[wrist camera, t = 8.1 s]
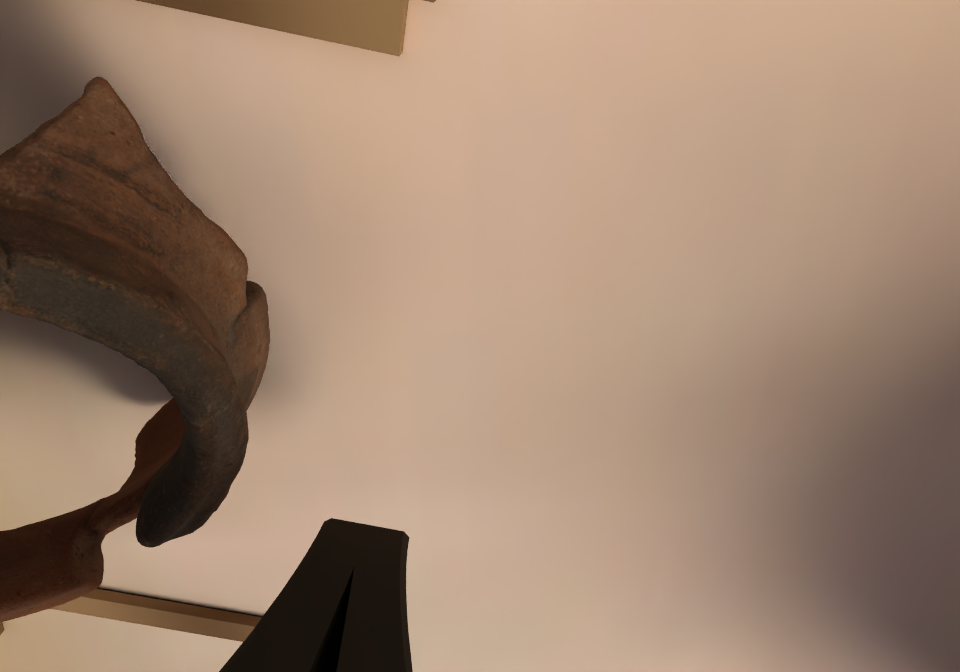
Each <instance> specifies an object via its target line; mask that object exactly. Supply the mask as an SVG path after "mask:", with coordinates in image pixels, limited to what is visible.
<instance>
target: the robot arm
mask: <svg viewBox="0 0 960 672" xmlns="http://www.w3.org/2000/svg"><path fill="white" fill-rule="evenodd" d="M408 542H409V537H408V536H407V534H406V533H405V532H404V531H398V530H393V529H387V528H382V527H376V526H371V525H366V524H360V523H355V522H349V521H344V520H338V519H333V518H331V519H329V520H327V521H325V522H324V523H323V525H322V527H321V529H320V531H319V533H318V535H317V537H316V538H315V540H314V542H313V543H312V545H311V547H310V549H309V550H308V552H307V554H306V555H305V557H304V558H303V560H302V561H301V563H300V565H299V566H298V568H297V569H296V571H295V572H294V574H293V575H292V577H291V578H290V580H289V581H288V582H287V584H286V585H285V587H284V588H283V590H282V591H281V593H280V594H279V595H278V597H277V598H276V599H275V601H274V602H273V603H272V605H271V606H270V608H269V609H268V610H267V612H266V613H265V614H264V616H263V617H262V618H261V620H260V621H259V622H258V624H257V625H256V626H255V628H254V629H253V631H252V632H251V633H250V634H249V636H248V637H247V638H246V640H245V641H244V642H243V643H242V645H241V646H240V647H239V648H238V649H237V651H236V652H235V653H234V654H233V655H232V657H231V658H230V659H229V660H228V662H227V663H226V664H225V665H224V666H223V668H222V669H221V670H220V671H219V672H412V662H411V653H410V643H409V634H408V622H407V603H406V561H407V549H408Z"/></svg>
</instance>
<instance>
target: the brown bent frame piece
mask: <svg viewBox="0 0 960 672" xmlns="http://www.w3.org/2000/svg"><path fill="white" fill-rule="evenodd" d="M247 273H248V265H247V259H246V257H245V255H244V253H243V252H242V250H241V249H240V248H239V247H238V246H237V245H236V243H235V242H234V241H233V240H232V239H231V238H230V236H229V235H228V234H227V233H226V232H225V231H224V230H223V229H222V228H221V227H219V226H218V225H217V224H215V223H214V222H213V221H211V220H210V219H209V218H207V217H206V216H205V215H204V214H203V212H202V211H201V210H200V209H199V208H198V207H196V206H195V205H194V204H193V203H192V202H191V201H190V200H189V199H188V198H187V197H186V196H185V195H184V194H183V193H182V192H181V190H180V189H179V188H178V187H177V185H176V184H175V183H174V182H173V181H172V179H171V178H170V177H169V175H168V174H167V173H166V171H165V170H164V169H163V168H162V166H161V165H160V163H159V161H158V160H157V158H156V157H155V156H154V154H153V153H152V152H151V151H150V149H149V148H148V146H147V145H146V143H145V141H144V138H143V136H142V133H141V130H140V127H139V126H138V124H137V122H136V121H135V119H134V118H133V116H132V114H131V113H130V111H129V110H128V108H127V107H126V106H125V104H124V103H123V101H122V100H121V99H120V98H119V96H118V95H117V94H116V92H115V91H114V89H113V88H112V87H111V85H110V84H109V83H108V81H107V80H105V79H104V78H101V77H96V78H93V79H92V80H91V81H89V82H88V83H87V85H86V87H85V89H84V93H83V95H82V97H81V98H79V99H78V100H77V101H75V102H74V103H72V104H71V105H70V106H69V107H68V108H67V109H65V110H64V111H63V112H62V113H61V114H59V115H58V116H56V117H55V118H53V119H51V120H49V121H47V122H45V123H44V124H42V125H41V126H40V127H39V128H38V129H37V130H36V131H35V132H34V133H32V134H31V135H30V136H28V137H27V138H25V139H24V140H23V141H22V142H21V143H19V144H17V145H16V146H14V147H12V148H11V149H9V150H7V151H6V152H4V153H3V154H2V155H0V309H2V310H6V311H9V312H11V313H14V314H17V315H20V316H23V317H29V318H34V319H38V320H42V321H45V322H48V323H51V324H54V325H56V326H58V327H60V328H62V329H65V330H69V331H72V332H75V333H77V334H79V335H82V336H84V337H86V338H88V339H91V340H94V341H97V342H99V343H101V344H103V345H105V346H107V347H109V348H111V349H113V350H115V351H118V352H121V353H122V354H123V355H125V356H127V357H128V358H130V359H132V360H134V361H135V362H136V363H137V364H138V365H140V366H142V367H144V368H146V369H148V370H149V371H150V372H152V373H153V374H154V375H156V377H157V378H158V379H159V380H160V381H161V382H162V383H163V384H164V385H165V386H166V388H167V390H168V391H169V392H170V393H171V394H172V395H173V398H172V399H171V400H170V401H169V402H168V403H167V404H165V405H164V406H163V407H162V408H161V409H160V410H159V411H158V412H157V413H156V414H155V415H154V416H153V417H152V418H151V419H150V420H149V421H148V422H147V423H146V424H145V426H144V427H143V428H142V430H141V431H140V433H139V434H138V436H137V438H136V449H135V450H136V454H135V457H136V461H135V468H134V469H133V471H132V473H131V475H130V477H129V478H128V480H127V481H126V482H125V483H124V485H123V486H122V487H121V489H120V490H119V491H118V492H117V493H115V494H113V495H111V496H109V497H106V498H102V499H100V500H98V501H96V502H95V503H92V504H90V505H88V506H86V507H83V508H80V509H78V510H75V511H72V512H69V513H66V514H63V515H60V516H57V517H53V518H50V519H47V520H43V521H40V522H36V523H33V524H29V525H25V526H22V527H19V528H16V529H12V530H7V531H0V622H3V621H7V620H11V619H15V618H19V617H22V616H26V615H29V614H32V613H36V612H39V611H42V610H45V609H50V608H52V607H55V606H59V605H62V604H65V603H67V602H69V601H72V600H74V599H77V598H79V597H81V596H83V595H85V594H87V593H89V592H91V591H93V590H95V589H96V588H98V587H99V586H100V585H101V583H102V580H103V572H104V560H103V554H102V551H101V543H102V541H103V539H104V537H105V535H106V534H108V533H109V532H111V531H113V530H115V529H116V528H118V527H120V526H122V525H124V524H126V523H129V522H131V521H132V520H134V519H136V518H137V522H136V537H137V540H138V542H139V543H140V544H141V545H143V546H145V547H156V546H159V545H161V544H163V543H165V542H167V541H169V540H172V539H175V538H178V537H181V536H184V535H187V534H190V533H192V532H194V531H195V530H197V529H198V528H200V527H201V526H203V525H204V523H205V522H206V521H207V520H208V519H209V517H210V516H211V515H212V513H213V512H215V511H216V510H217V509H218V507H219V506H220V504H221V503H222V501H223V500H224V499H225V497H226V496H227V494H228V492H229V489H230V486H231V484H232V482H233V481H234V479H235V477H236V476H237V474H238V472H239V471H240V469H241V466H242V464H243V461H244V457H245V453H246V447H247V443H248V439H249V438H248V422H247V414H246V411H247V409H248V407H249V406H250V404H251V402H252V400H253V398H254V396H255V393H256V391H257V389H258V387H259V385H260V382H261V379H262V376H263V373H264V370H265V367H266V363H267V358H268V352H269V343H270V331H269V318H268V305H267V299H266V294H265V292H264V291H263V289H262V287H261V286H259V285H258V284H257V283H254V282H252V281H246V280H247Z"/></svg>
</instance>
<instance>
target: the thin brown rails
mask: <svg viewBox="0 0 960 672" xmlns="http://www.w3.org/2000/svg"><path fill="white" fill-rule="evenodd" d="M137 1H142V2H147V3H151V4H156V5H161V6H165V7H170V8H175V9H180V10H184V11H189V12H194V13H198V14H203V15H208V16H212V17H217V18H222V19H227V20H231V21H236V22H241V23H245V24H250V25H255V26H259V27H264V28H269V29H274V30H278V31H283V32H288V33H292V34H297V35H302V36H307V37H311V38H316V39H321V40H325V41H330V42H335V43H339V44H344V45H349V46H354V47H358V48H363V49H368V50H372V51H377V52H382V53H386V54H391V55H396V56H400V55H401V54H402V52H403V43H404V35H405V26H406V17H407V8H408V0H137ZM425 1H429V2H435V1H436V0H425ZM50 609H56V610H61V611H67V612H73V613H79V614H85V615H90V616H96V617H102V618H108V619H114V620H119V621H125V622H131V623H137V624H143V625H149V626H154V627H160V628H166V629H172V630H178V631H183V632H189V633H195V634H201V635H207V636H212V637H218V638H224V639H230V640H236V641H241V642H244V641H245V640H246V638H247V637H248V636H249V634H250V633H251V632H252V631H253V629H254V628H255V626H256V625H257V624H258V622H259V621H260V620H261V618H262V617H257V616H251V615H245V614H240V613H234V612H228V611H222V610H217V609H211V608H205V607H199V606H194V605H188V604H182V603H176V602H171V601H165V600H159V599H153V598H148V597H142V596H136V595H130V594H125V593H119V592H113V591H107V590H102V589H95V590H93V591H91V592H89V593H87V594H85V595H83V596H81V597H79V598H77V599H74V600H72V601H69V602H67V603H65V604H62V605H59V606H55V607H52V608H50ZM3 631H4V627H3V624H2V622H0V635H1V634H2V632H3Z"/></svg>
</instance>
